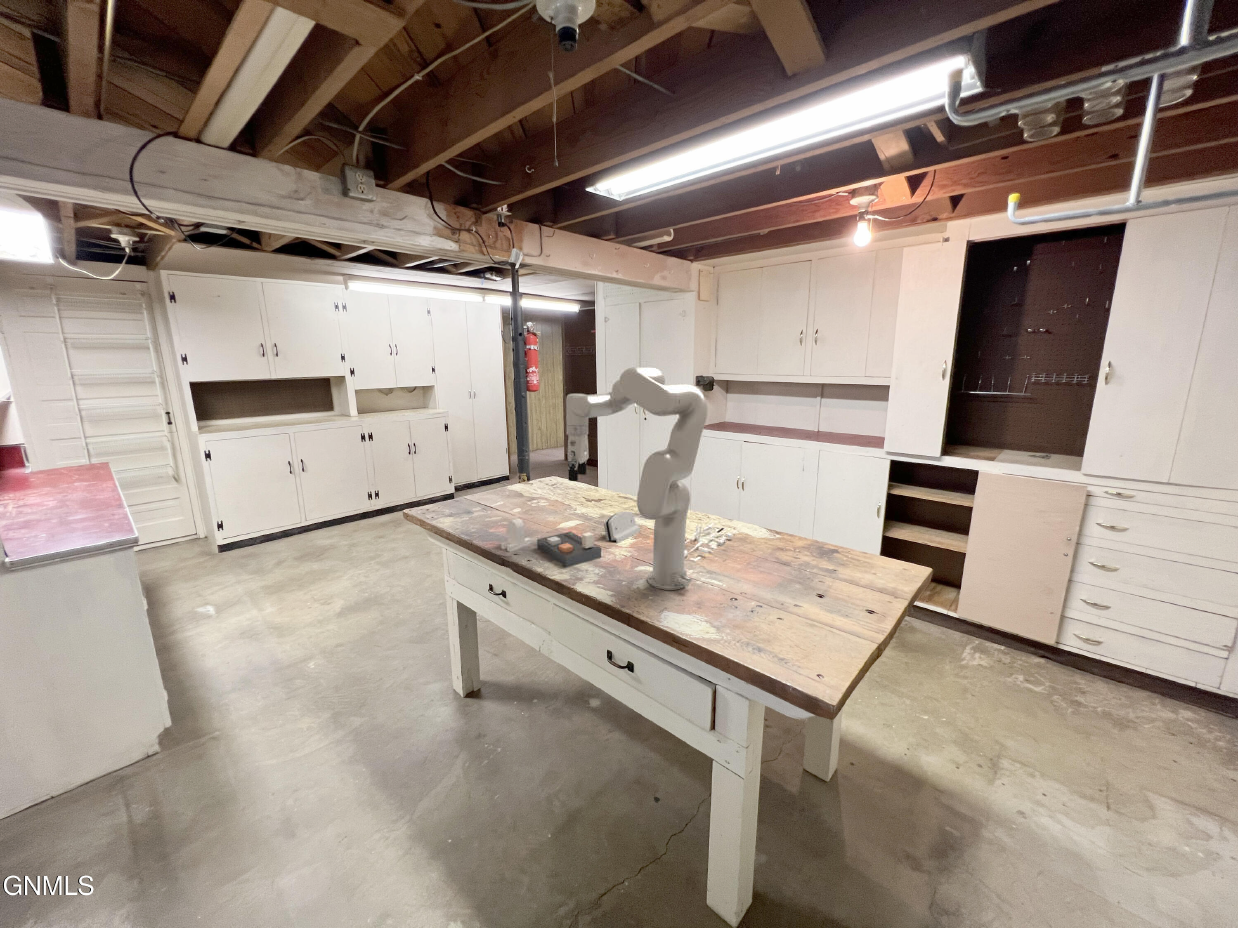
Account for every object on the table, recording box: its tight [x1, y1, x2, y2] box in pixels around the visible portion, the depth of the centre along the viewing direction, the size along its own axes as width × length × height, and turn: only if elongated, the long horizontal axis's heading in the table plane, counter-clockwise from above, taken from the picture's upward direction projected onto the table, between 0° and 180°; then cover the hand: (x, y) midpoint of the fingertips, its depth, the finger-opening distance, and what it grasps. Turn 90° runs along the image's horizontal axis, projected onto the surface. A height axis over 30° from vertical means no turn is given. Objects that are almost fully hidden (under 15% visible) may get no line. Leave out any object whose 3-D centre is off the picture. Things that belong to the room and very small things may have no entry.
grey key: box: [547, 536, 561, 546], centre depth 167 cm, size 4×4×2 cm
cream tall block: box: [581, 531, 595, 548], centre depth 162 cm, size 2×3×4 cm
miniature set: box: [684, 523, 734, 563], centre depth 173 cm, size 6×35×12 cm
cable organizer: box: [500, 518, 531, 552], centre depth 172 cm, size 5×10×10 cm, turn 143°
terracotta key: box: [559, 543, 573, 553], centre depth 161 cm, size 4×4×2 cm
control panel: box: [536, 531, 602, 568], centre depth 167 cm, size 20×14×4 cm
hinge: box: [603, 511, 642, 544], centre depth 184 cm, size 17×5×10 cm, turn 145°
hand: (577, 477), depth 168 cm, fingers open, 9 cm apart
